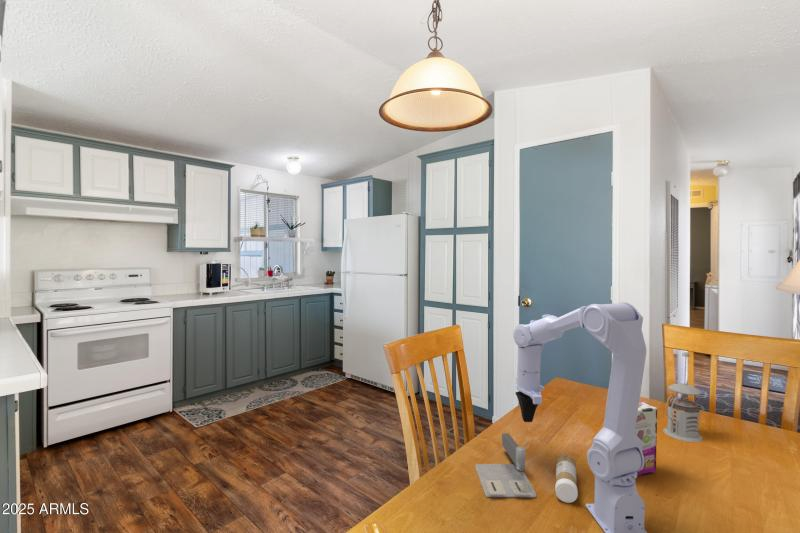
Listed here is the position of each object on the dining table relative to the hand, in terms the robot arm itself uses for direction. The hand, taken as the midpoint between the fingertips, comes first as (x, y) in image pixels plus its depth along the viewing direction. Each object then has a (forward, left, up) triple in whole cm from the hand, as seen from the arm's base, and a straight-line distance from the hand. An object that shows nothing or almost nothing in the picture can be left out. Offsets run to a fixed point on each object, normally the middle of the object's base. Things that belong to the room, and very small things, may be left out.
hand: (527, 420), depth 106 cm
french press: (+14, -51, -10) cm, 54 cm away
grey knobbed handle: (-3, +4, -9) cm, 10 cm away
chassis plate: (-11, +9, -10) cm, 17 cm away
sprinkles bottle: (-6, -8, -8) cm, 13 cm away
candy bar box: (-6, -24, -10) cm, 27 cm away
